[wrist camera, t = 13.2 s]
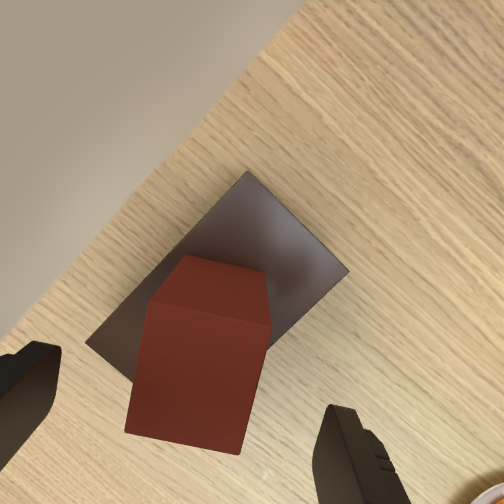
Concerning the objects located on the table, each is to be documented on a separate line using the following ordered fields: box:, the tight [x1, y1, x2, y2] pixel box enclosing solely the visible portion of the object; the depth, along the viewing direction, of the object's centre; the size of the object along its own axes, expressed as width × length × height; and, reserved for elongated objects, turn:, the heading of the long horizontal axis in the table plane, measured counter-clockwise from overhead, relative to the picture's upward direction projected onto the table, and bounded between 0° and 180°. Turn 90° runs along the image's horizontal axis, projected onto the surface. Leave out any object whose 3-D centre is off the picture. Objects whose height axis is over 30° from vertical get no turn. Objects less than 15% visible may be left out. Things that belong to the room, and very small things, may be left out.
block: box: [85, 171, 349, 383], centre depth 22 cm, size 12×7×5 cm, turn 136°
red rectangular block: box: [124, 255, 272, 455], centre depth 16 cm, size 5×4×7 cm
